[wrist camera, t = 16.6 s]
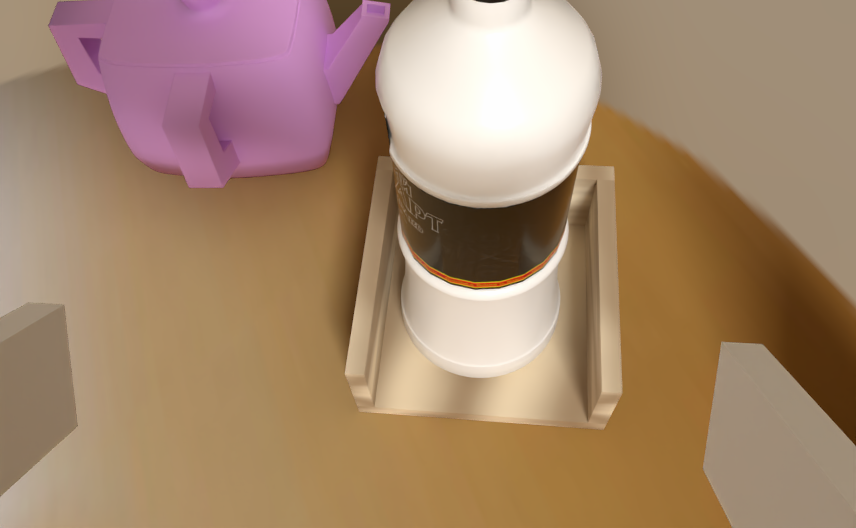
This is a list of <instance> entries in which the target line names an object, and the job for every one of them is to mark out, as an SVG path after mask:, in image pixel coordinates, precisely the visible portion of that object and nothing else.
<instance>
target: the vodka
mask: <svg viewBox="0 0 856 528" xmlns="http://www.w3.org/2000/svg"><path fill="white" fill-rule="evenodd" d="M375 76H376V91H377V94H378V97H379V100H380V103H381V106H382V109H383V111H384V114H385V119H386V125H387V131H388V138H389V145H390V150H389V153H390V156H391V159H392V166H393V173H394V180H395V188H396V195H397V202H398V209H399V216H398V222H397V233H398V240H399V244H400V248H401V251H402V253H403V255H404V257H405V275H404V278H403V282H402V288H401V306H402V316H403V321H404V325H405V328H406V331H407V333H408V335H409V337H410V339H411V341H412V342H413V344H414V345H415V347H416V348H417V349H418V350H419V351H420V353H421V354H422V355H423V356H425V357H426V358H427V359H428V360H429V361H431V362H432V363H433V364H435V365H437V366H438V367H440V368H442V369H444V370H446V371H448V372H451V373H454V374H457V375H460V376H465V377H472V378H490V377H497V376H501V375H506V374H508V373H511V372H514V371H516V370H518V369H520V368H522V367H524V366H526V365H527V364H529V363H530V362H531V361H533V360H534V359H535V358H536V357H537V356H538V355H539V354H540V353H541V352H542V351H543V350H544V348H545V347H546V346H547V344H548V343H549V341H550V339H551V338H552V335H553V333H554V331H555V328H556V325H557V321H558V316H559V308H560V288H559V283H558V280H557V274H558V263H559V262H560V260H561V258H562V256H563V254H564V252H565V249H566V246H567V242H568V235H569V224H568V213H569V209H570V204H571V199H572V194H573V190H574V185H575V180H576V176H577V171H578V166H579V162H580V160H581V158H582V156H583V154H584V152H585V150H586V148H587V145H588V142H589V138H590V133H591V120H592V117H593V115H594V112H595V109H596V107H597V104H598V100H599V96H600V93H601V81H602V70H601V65H600V61H599V56H598V52H597V47H596V43H595V39H594V36H593V34H592V33H591V31H590V29H589V27H588V25H587V24H586V22H585V20H584V19H583V18H582V17H581V16H580V14H579V13H578V12H577V11H576V10H575V9H574V8H573V7H572V6H571V5H570V4H569V3H568V2H567V1H566V0H413V1H412V2H411V3H410V4H409V5H408V6H407V7H406V8H405V9H404V10H403V11H402V12H401V14H399V15H398V17H397V18H396V19H395V20H394V22H393V23H392V25H391V26H390V28H389V30H388V31H387V33H386V35H385V37H384V41H383V44H382V47H381V51H380V55H379V58H378V62H377V66H376V70H375Z"/></svg>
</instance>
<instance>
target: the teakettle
mask: <svg viewBox="0 0 856 528" xmlns="http://www.w3.org/2000/svg"><path fill="white" fill-rule="evenodd" d="M389 14H390V3H382V2H375V1H369V0H363V3H362V4H361V5H360V6H359V8H358V9H357V10H355V12H354V13H353V14H352V15H351V16H350V17H349V18H348V19H347V20H346V21H345V22H344V23H343V24H342V25H341V26H340V27H339V28H338V29H337V30H336V28H335V25H334V21H333V17H332V14H331V11H330V8H329V5H328V3H327V0H87V1H66V2H65V1H64V2H58V3H57V5H56V8H55V10H54V13H53V15H52V18H51V20H50V23H49V25H48V26H49V28H50V30H51V32H52V34H53V36H54V38H55V40H56V42H57V44H58V46H59V48H60V50H61V52H62V54H63V56H64V58H65V60H66V62H67V64H68V66H69V68H70V70H71V72H72V74H73V76H74V78H75V80H76V82H77V84H78V85H81V86H84V87H87V88H90V89H93V90H96V91H100V92H103V93H106V94H107V97H108V100H109V103H110V106H111V109H112V112H113V114H114V117H115V120H116V122H117V124H118V126H119V129H120V131H121V133H122V135H123V137H124V139H125V141H126V143H127V144H128V146H129V148H130V149H131V151H132V153H133V154H134V155H135V156H136V157H137V158H138V159H139V160H140V161H141V162H143V163H144V164H145V165H147V166H148V167H150V168H151V169H153V170H155V171H157V172H161V173H166V174H174V175H183V176H184V177H185V180H186V182H187V184H188V186H189V188H223V187H224V186H225V184H226V183H227V181H228V180H229V179H230V178H247V177H261V176H272V175H282V174H291V173H298V172H305V171H310V170H314V169H317V168H319V167H322V166H323V165H324V164H325V163H326V161H327V159H328V156H329V151H330V147H331V142H332V136H333V130H334V123H335V116H336V109H337V104H340V103H341V101H342V100H343V98H344V96H345V95H346V93H347V91H348V90H349V88H350V86H351V85H352V83H353V81H354V80H355V78H356V76H357V75H358V73H359V71H360V70H361V68H362V66H363V65H364V63H365V61H366V60H367V58H368V56H369V55H370V53H371V51H372V50H373V48H374V46H375V45H376V43H377V41H378V39H379V38H380V36H381V34H382V33H383V31H384V29H385V28H386V26H387V24H388V23H389ZM101 39H102V40H101Z"/></svg>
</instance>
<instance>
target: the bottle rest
mask: <svg viewBox="0 0 856 528" xmlns="http://www.w3.org/2000/svg"><path fill="white" fill-rule="evenodd" d="M398 216H399V209H398V202H397V195H396V188H395V180H394V173H393V166H392V159H391V157H390V156H378V162H377V169H376V175H375V182H374V188H373V195H372V201H371V208H370V214H369V221H368V227H367V233H366V240H365V246H364V253H363V259H362V266H361V272H360V279H359V285H358V292H357V298H356V305H355V311H354V317H353V324H352V330H351V337H350V343H349V350H348V356H347V363H346V369H345V375H346V378H347V381H348V383H349V386H350V388H351V391H352V394H353V396H354V399H355V401H356V404H357V407H358V409H359V412H373V413H386V414H399V415H413V416H426V417H440V418H453V419H467V420H480V421H493V422H507V423H520V424H534V425H547V426H561V427H574V428H587V429H601V430H603V429H604V427H605V426H606V424H607V422H608V420H609V418H610V416H611V414H612V412H613V410H614V408H615V406H616V404H617V402H618V401H619V399H620V397H621V395H622V369H621V343H620V316H619V289H618V262H617V236H616V209H615V182H614V167H610V166H588V165H579V166H578V171H577V176H576V180H575V185H574V190H573V194H572V199H571V204H570V209H569V213H568V224H569V235H568V242H567V246H566V249H565V252H564V254H563V256H562V258H561V260H560V262H559V263H558V274H557V280H558V283H559V288H560V308H559V316H558V321H557V325H556V328H555V331H554V333H553V335H552V338H551V339H550V341H549V343H548V344H547V346H546V347H545V348H544V350H543V351H542V352H541V353H540V354H539V355H538V356H537V357H536V358H535V359H534V360H533V361H531V362H530V363H529V364H527V365H526V366H524V367H522V368H520V369H518V370H516V371H514V372H511V373H508V374H506V375H501V376H497V377H490V378H472V377H465V376H460V375H457V374H454V373H451V372H448V371H446V370H444V369H442V368H440V367H438V366H437V365H435V364H433V363H432V362H431V361H429V360H428V359H427V358H426V357H425V356H423V355H422V354H421V353H420V351H419V350H418V349H417V348H416V347H415V345H414V344H413V342H412V341H411V339H410V337H409V335H408V333H407V331H406V328H405V325H404V321H403V316H402V306H401V288H402V282H403V278H404V275H405V257H404V255H403V253H402V251H401V248H400V244H399V240H398V233H397V222H398Z"/></svg>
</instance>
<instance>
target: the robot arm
mask: <svg viewBox="0 0 856 528" xmlns="http://www.w3.org/2000/svg"><path fill="white" fill-rule="evenodd" d="M77 426H78V424H77V415H76V406H75V397H74V388H73V379H72V370H71V361H70V352H69V343H68V334H67V325H66V316H65V307H64V305H63V304H45V303H27V304H25V305H23V306H21V307H19V308H17V309H16V310H14V311H12V312H10V313H8V314H6V315H5V316H3V317H1V318H0V496H1V495H3V494H4V493H5V492H6V491H7V490H8V489H9V488H10V487H11V486H12V485H14V484H15V483H16V482H17V481H18V480H19V479H20V478H21V477H22V476H23V475H24V474H26V473H27V472H28V471H29V470H30V469H31V468H32V467H33V466H34V465H35V464H37V463H38V462H39V461H40V460H41V459H42V458H43V457H44V456H45V455H46V454H48V453H49V452H50V451H51V450H52V449H53V448H54V447H55V446H56V445H57V444H59V443H60V442H61V441H62V440H63V439H64V438H65V437H66V436H67V435H68V434H70V433H71V432H72V431H73V430H74V429H75V428H76V427H77ZM703 470H704V472H705V474H706V476H707V478H708V480H709V482H710V484H711V486H712V488H713V490H714V492H715V494H716V496H717V498H718V500H719V502H720V504H721V506H722V508H723V510H724V512H725V514H726V516H727V518H728V520H729V522H730V524H731V526H732V528H856V446H855V445H854V444H853V442H852V441H851V440H850V439H849V438H848V437H847V436H846V435H845V434H844V433H843V431H842V430H841V429H840V428H839V427H838V426H837V425H836V424H835V423H834V422H833V421H832V419H831V418H830V417H829V416H828V415H827V414H826V413H825V412H824V411H823V410H822V409H821V407H820V406H819V405H818V404H817V403H816V402H815V401H814V400H813V399H812V398H811V397H810V395H809V394H808V393H807V392H806V391H805V390H804V389H803V388H802V387H801V386H800V384H799V383H798V382H797V381H796V380H795V379H794V378H793V377H792V376H791V375H790V374H789V372H788V371H787V370H786V369H785V368H784V367H783V366H782V365H781V364H780V363H779V362H778V360H777V359H776V358H775V357H774V356H773V355H772V354H771V353H770V352H769V351H768V349H767V348H766V347H765V346H764V345H763V344H751V343H733V342H722V343H721V350H720V356H719V363H718V370H717V377H716V383H715V390H714V397H713V404H712V411H711V417H710V424H709V431H708V438H707V444H706V451H705V458H704V465H703Z"/></svg>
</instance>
